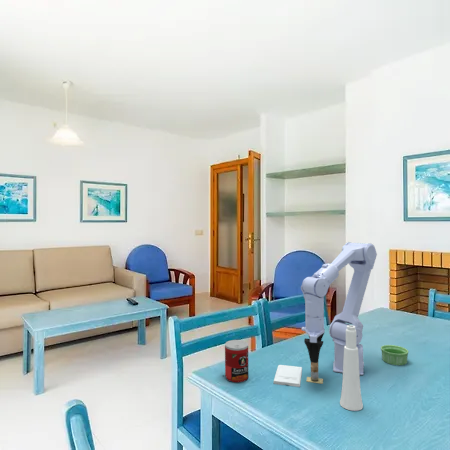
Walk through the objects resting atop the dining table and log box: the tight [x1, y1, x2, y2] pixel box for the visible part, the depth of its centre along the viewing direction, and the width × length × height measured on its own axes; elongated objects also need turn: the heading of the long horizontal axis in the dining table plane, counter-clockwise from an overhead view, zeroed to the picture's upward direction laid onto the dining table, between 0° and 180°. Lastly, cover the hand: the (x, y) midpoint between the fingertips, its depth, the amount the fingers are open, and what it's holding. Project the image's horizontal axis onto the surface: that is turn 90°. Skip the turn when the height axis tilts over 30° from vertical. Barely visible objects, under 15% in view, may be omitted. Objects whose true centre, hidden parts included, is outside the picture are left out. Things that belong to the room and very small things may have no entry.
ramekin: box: [380, 344, 409, 366], centre depth 124 cm, size 9×9×4 cm
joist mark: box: [305, 376, 324, 385], centre depth 110 cm, size 5×3×1 cm, turn 72°
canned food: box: [224, 339, 249, 383], centre depth 113 cm, size 8×8×11 cm
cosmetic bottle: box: [339, 324, 364, 412], centre depth 95 cm, size 6×6×22 cm
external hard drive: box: [273, 364, 303, 388], centre depth 113 cm, size 2×8×12 cm
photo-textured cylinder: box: [310, 361, 320, 382], centre depth 110 cm, size 2×2×7 cm
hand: (314, 357), depth 110 cm, fingers open, 7 cm apart
